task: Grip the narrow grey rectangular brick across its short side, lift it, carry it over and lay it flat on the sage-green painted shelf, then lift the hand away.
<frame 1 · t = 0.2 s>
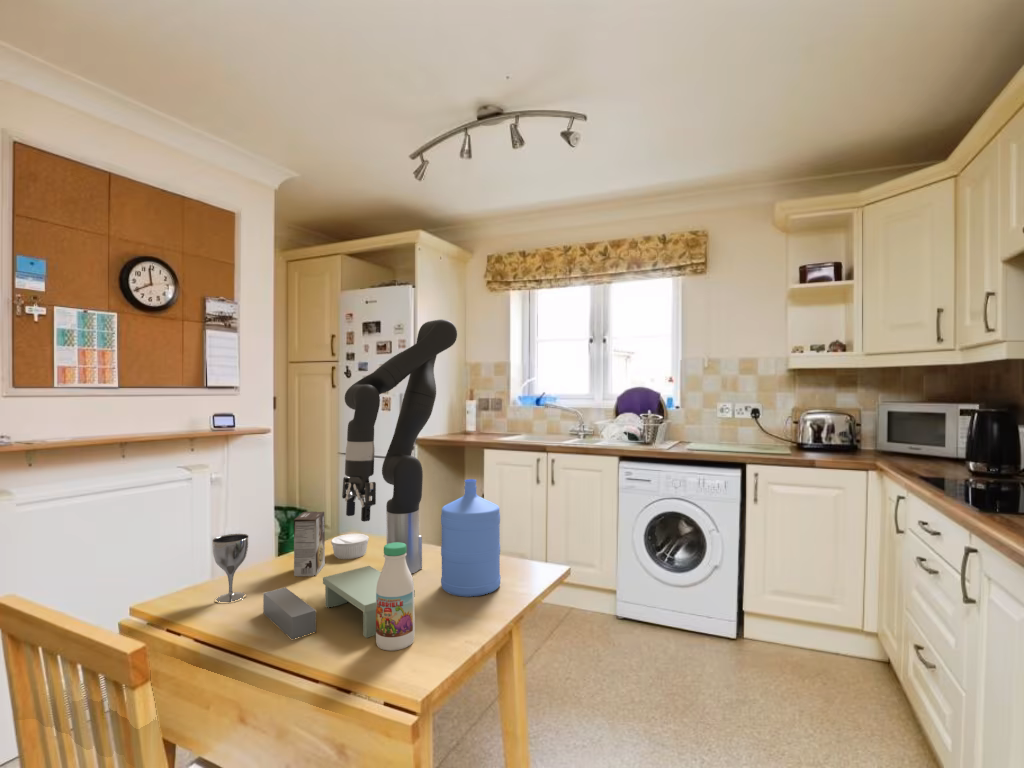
hand: (357, 518, 138), 17 cm above the table, tool pointing down, fingers open, 8 cm apart
water jug: (470, 587, 136), on the table
ramekin: (350, 555, 162), on the table
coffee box: (309, 571, 148), on the table
milk bottle: (395, 643, 105), on the table
wine glass: (230, 598, 129), on the table
sage shelf: (367, 613, 119), on the table
grey rectangular brick: (288, 623, 115), on the table
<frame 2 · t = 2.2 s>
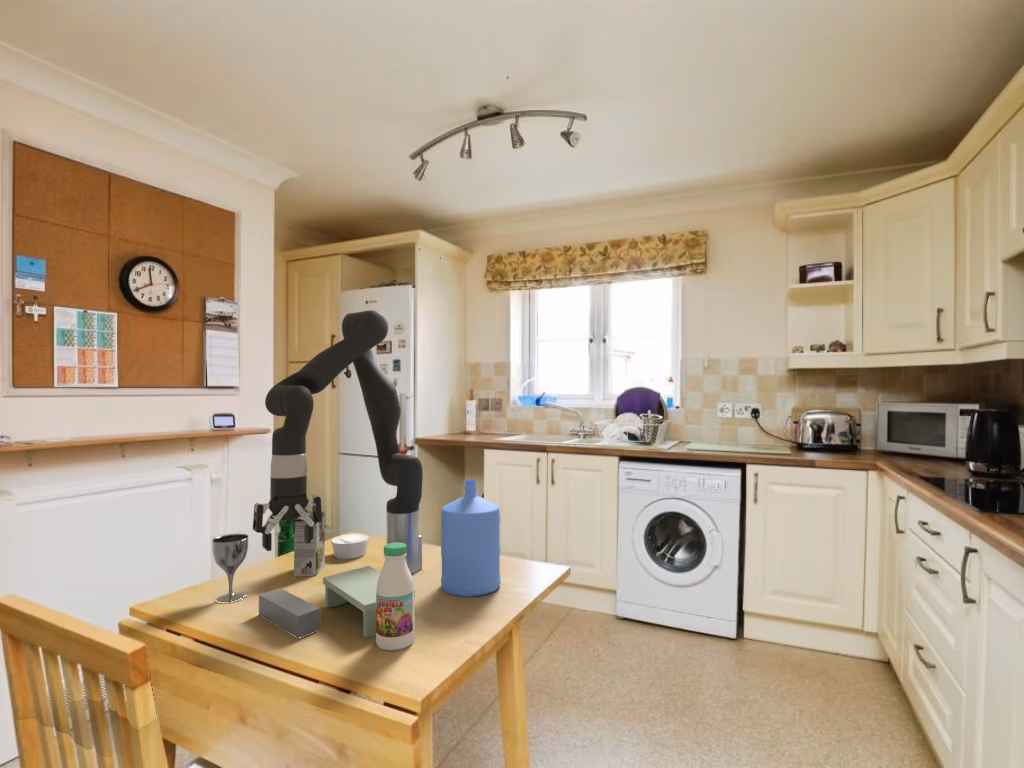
hand: (288, 546, 115), 17 cm above the table, tool pointing down, fingers open, 8 cm apart
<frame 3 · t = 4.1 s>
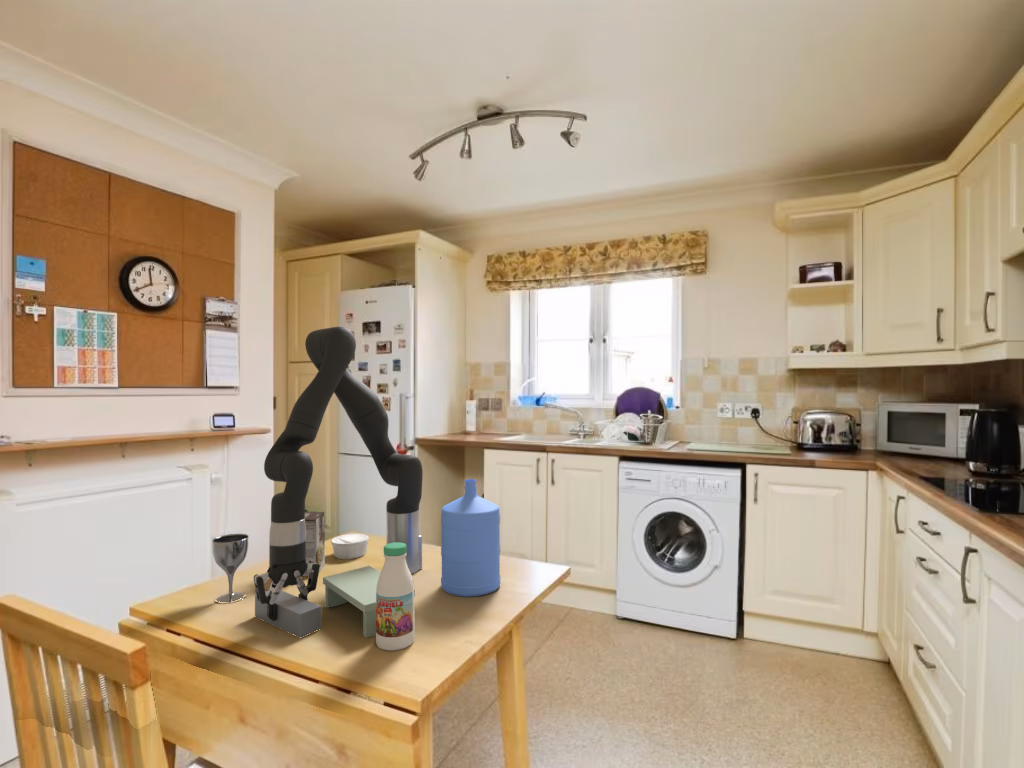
hand: (287, 615, 115), 2 cm above the table, tool pointing down, fingers closed on grey rectangular brick, 5 cm apart
grey rectangular brick: (287, 622, 115), on the table, touching gripper
everything else where it was.
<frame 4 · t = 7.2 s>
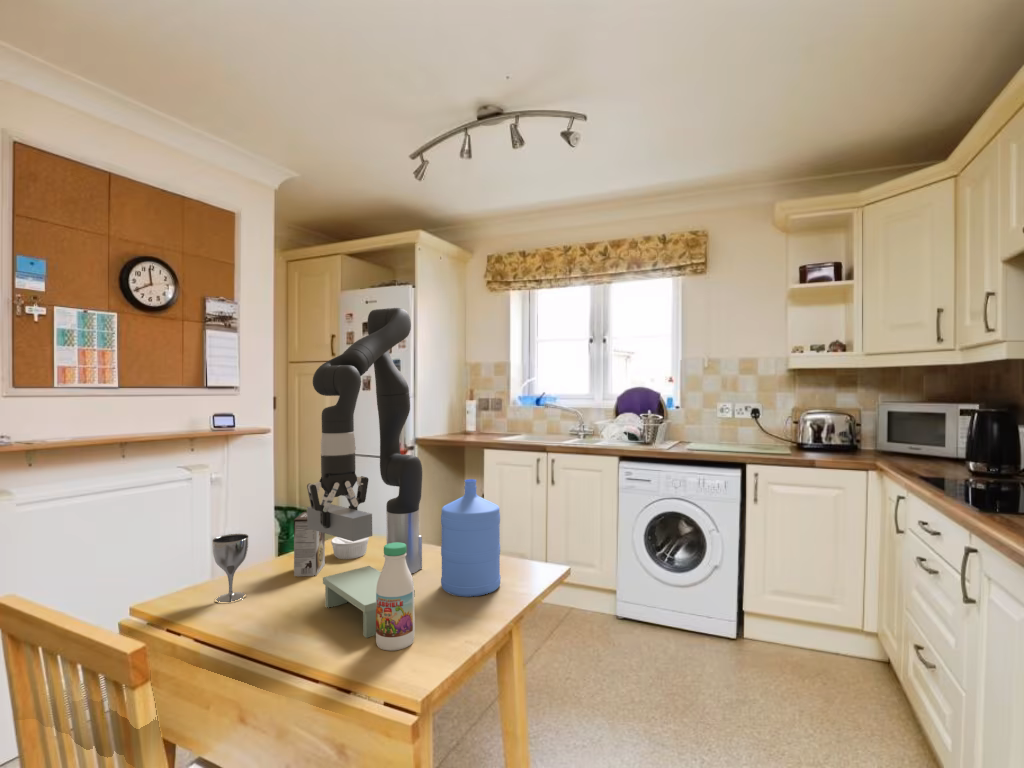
hand: (339, 524, 118), 21 cm above the table, tool pointing down, fingers closed on grey rectangular brick, 5 cm apart
grey rectangular brick: (338, 531, 118), point 19 cm above the table, touching gripper
everything else where it was.
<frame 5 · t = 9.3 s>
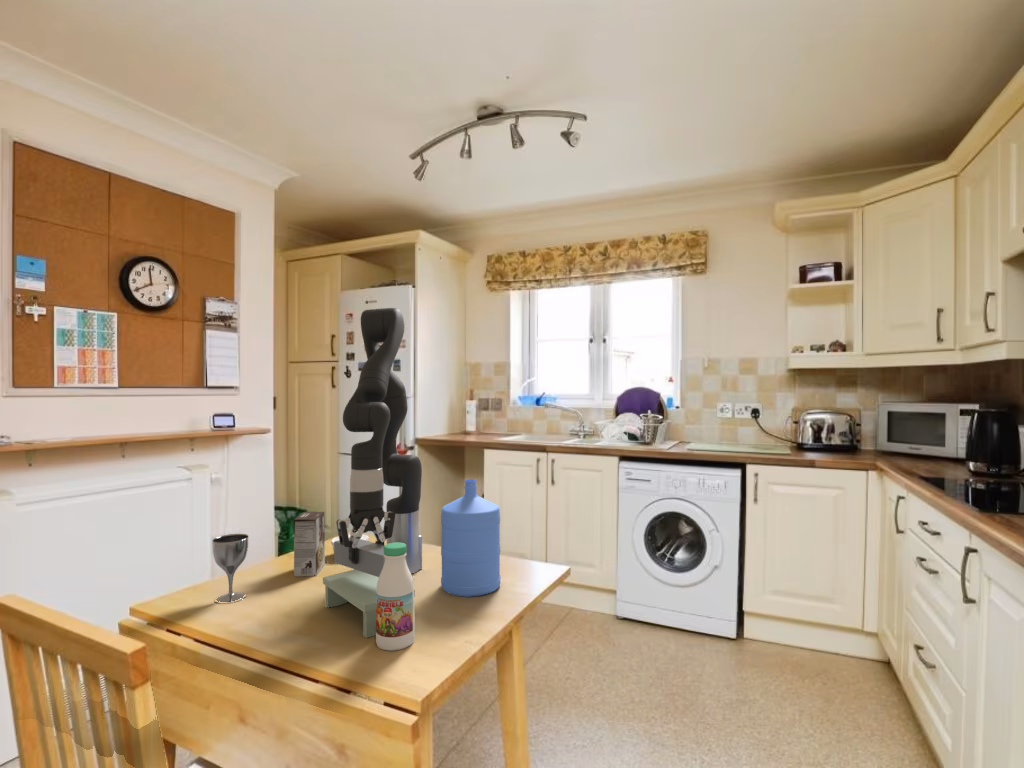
hand: (366, 560, 119), 12 cm above the table, tool pointing down, fingers closed on grey rectangular brick, 5 cm apart
grey rectangular brick: (366, 567, 119), point 11 cm above the table, touching gripper
everything else where it was.
when the fingers open (10 cm above the table, at t = 10.7 s): grey rectangular brick drops 1 cm, resting on sage shelf.
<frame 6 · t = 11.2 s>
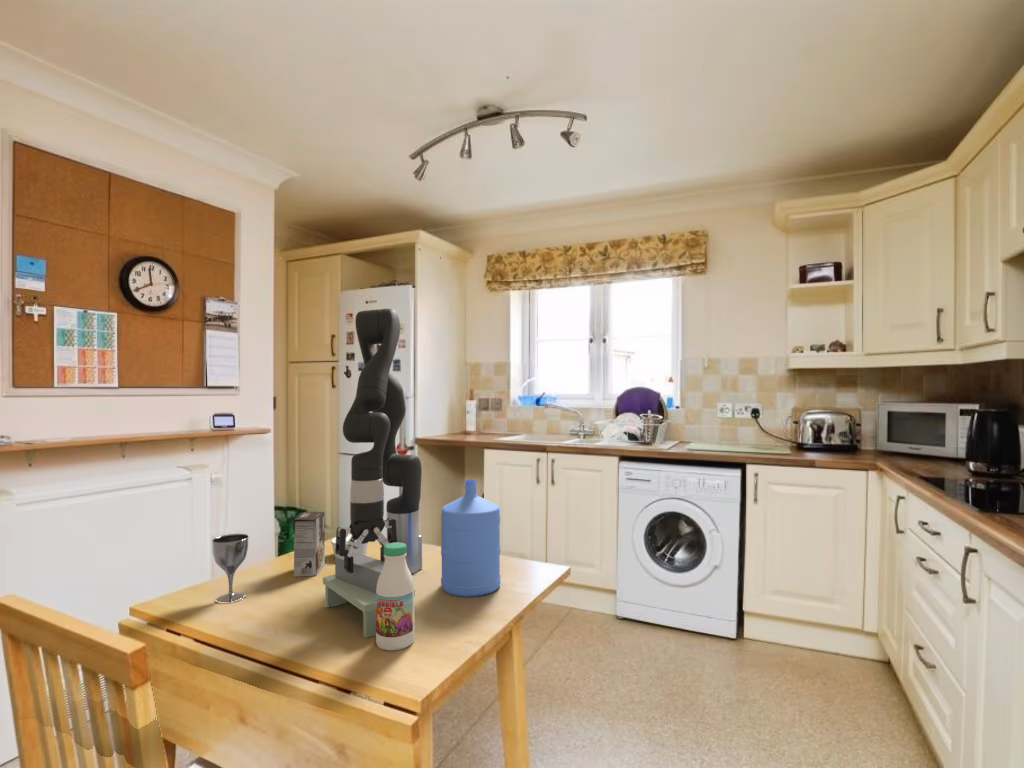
hand: (367, 568, 119), 11 cm above the table, tool pointing down, fingers open, 8 cm apart
grey rectangular brick: (366, 583, 119), point 7 cm above the table, touching sage shelf
everything else where it was.
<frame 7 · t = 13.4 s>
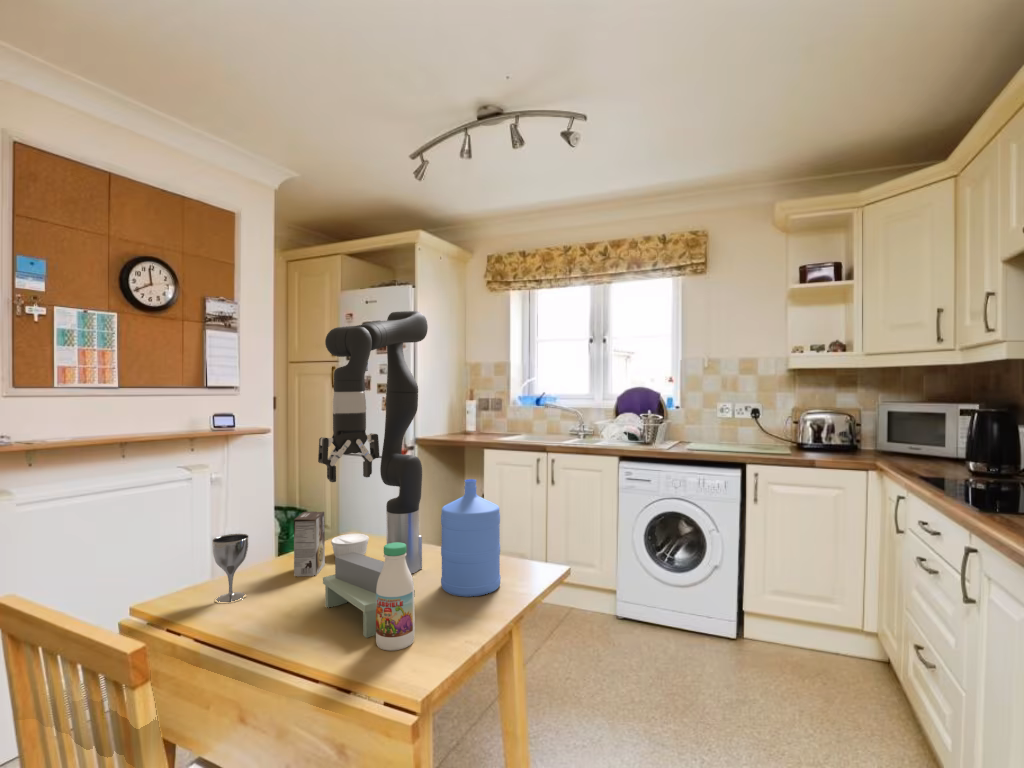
hand: (349, 479, 122), 31 cm above the table, tool pointing down, fingers open, 8 cm apart
nothing on the table moved.
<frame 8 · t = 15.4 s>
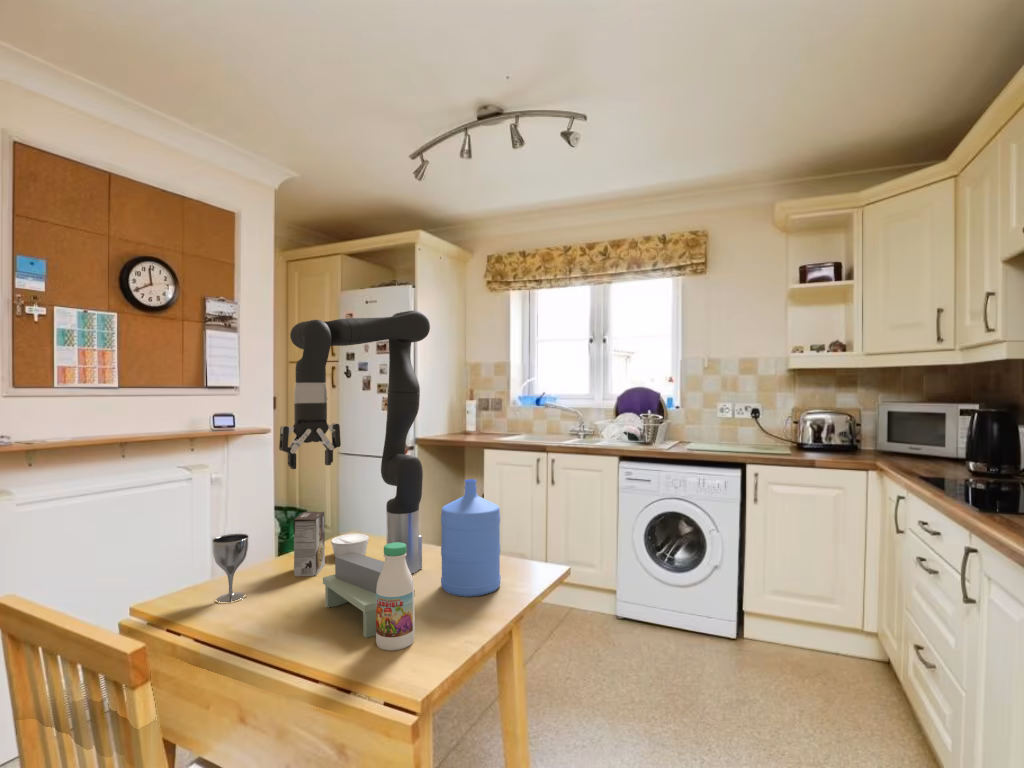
hand: (310, 466, 127), 33 cm above the table, tool pointing down, fingers open, 8 cm apart
nothing on the table moved.
at the end: grey rectangular brick inside the target area on the sage shelf (0.1 cm from its centre), point 7.0 cm above the sage shelf's base; grey rectangular brick tilted 0°; the gripper is holding nothing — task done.
